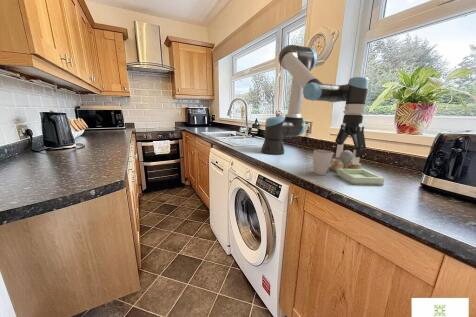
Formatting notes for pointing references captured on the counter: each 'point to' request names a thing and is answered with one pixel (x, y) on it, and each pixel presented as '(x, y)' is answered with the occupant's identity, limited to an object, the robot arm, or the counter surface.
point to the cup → (322, 161)
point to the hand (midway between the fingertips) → (346, 160)
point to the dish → (360, 177)
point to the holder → (339, 165)
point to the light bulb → (346, 157)
